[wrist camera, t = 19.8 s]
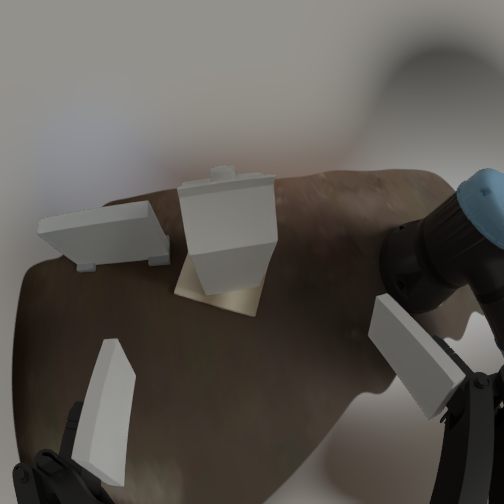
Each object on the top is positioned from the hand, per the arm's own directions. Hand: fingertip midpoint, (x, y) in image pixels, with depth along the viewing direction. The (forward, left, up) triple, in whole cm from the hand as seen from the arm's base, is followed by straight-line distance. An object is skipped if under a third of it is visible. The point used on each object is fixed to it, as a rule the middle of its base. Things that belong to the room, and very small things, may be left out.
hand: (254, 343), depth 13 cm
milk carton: (+4, -10, -22) cm, 24 cm away
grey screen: (+20, -7, -23) cm, 31 cm away
